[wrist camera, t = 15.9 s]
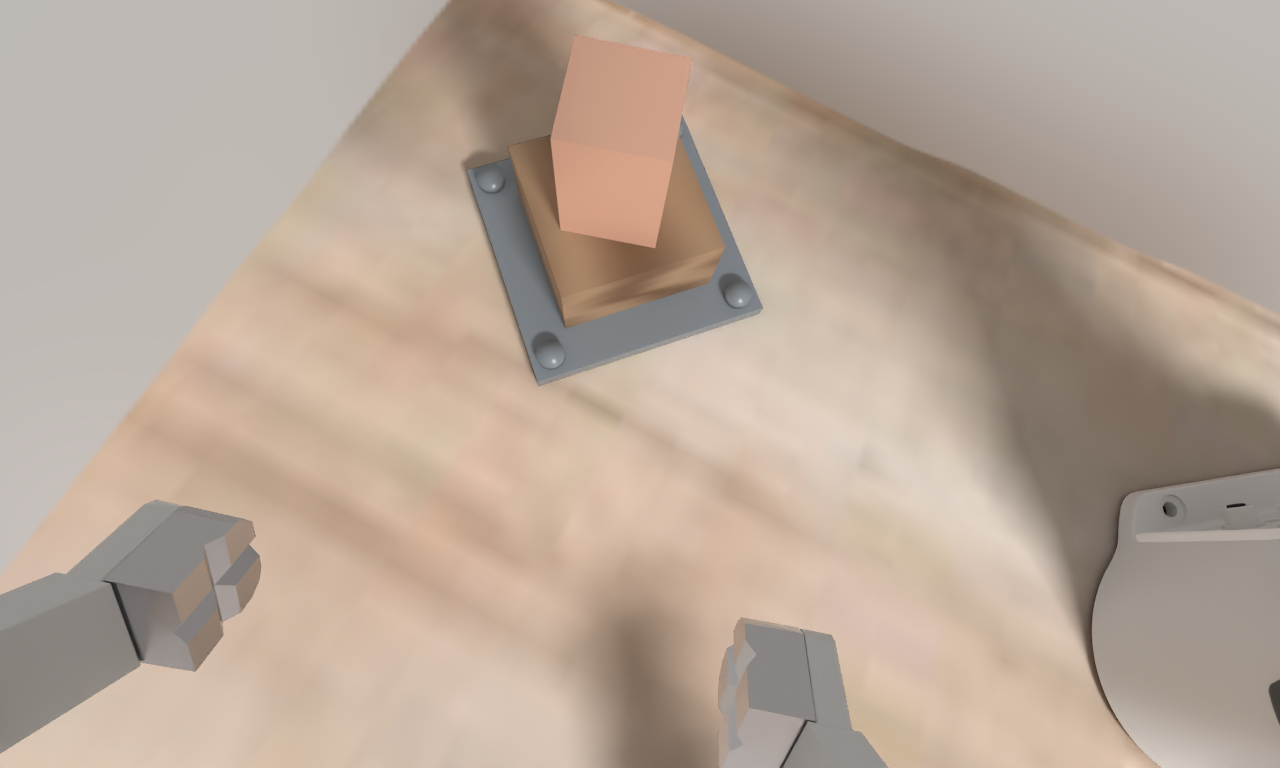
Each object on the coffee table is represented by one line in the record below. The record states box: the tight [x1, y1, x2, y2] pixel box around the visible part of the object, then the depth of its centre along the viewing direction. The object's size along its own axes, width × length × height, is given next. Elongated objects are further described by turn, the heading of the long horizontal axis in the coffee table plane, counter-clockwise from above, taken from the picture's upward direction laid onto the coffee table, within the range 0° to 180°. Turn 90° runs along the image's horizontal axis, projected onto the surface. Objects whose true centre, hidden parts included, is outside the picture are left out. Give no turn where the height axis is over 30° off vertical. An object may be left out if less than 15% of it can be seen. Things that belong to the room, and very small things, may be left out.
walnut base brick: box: [508, 134, 725, 328], centre depth 37 cm, size 9×9×5 cm
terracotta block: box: [550, 35, 692, 248], centre depth 31 cm, size 5×5×8 cm
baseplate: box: [467, 115, 763, 386], centre depth 40 cm, size 14×14×2 cm
